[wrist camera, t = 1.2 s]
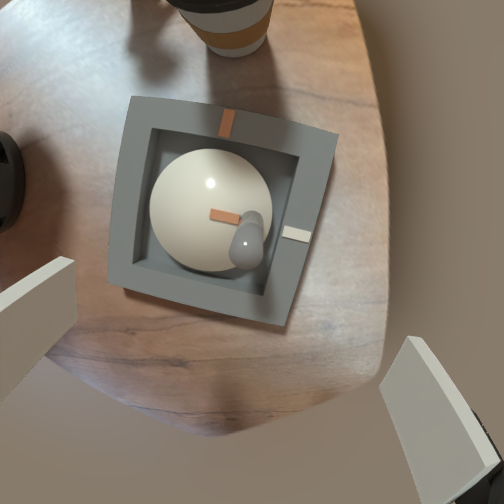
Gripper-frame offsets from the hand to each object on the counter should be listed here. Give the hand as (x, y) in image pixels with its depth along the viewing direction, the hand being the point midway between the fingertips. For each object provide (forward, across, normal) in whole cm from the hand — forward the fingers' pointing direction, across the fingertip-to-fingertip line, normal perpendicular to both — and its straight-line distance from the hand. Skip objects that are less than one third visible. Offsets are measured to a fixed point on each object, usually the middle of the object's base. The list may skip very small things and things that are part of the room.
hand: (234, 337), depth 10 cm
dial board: (+21, -4, 0) cm, 22 cm away
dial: (+20, -4, 0) cm, 21 cm away
